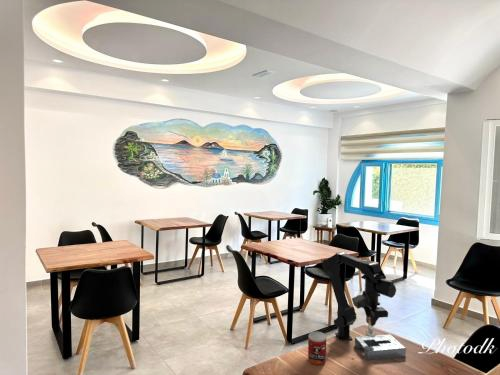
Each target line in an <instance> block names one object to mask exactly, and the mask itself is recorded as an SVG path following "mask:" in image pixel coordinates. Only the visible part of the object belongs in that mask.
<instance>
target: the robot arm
mask: <svg viewBox="0 0 500 375" xmlns="http://www.w3.org/2000/svg"><path fill="white" fill-rule="evenodd" d="M342 263H343V264H346V265H348V266H351V267H353V268H354V269H355V268H356V269H357V270H359V271H360V273H362V274H363V275H361V276H360V278H361V279H363V280H364V290H362V292H361V293H362V294H357V295H356V296H354V297H352V298H351V301H352V304H353V306H351V305H350V304H349V302H348V299H347V295H346V293H345V289H344V286H343V283H342V280H341V276H340V270H341V267H340V265H341V264H342ZM321 266H322V269H323V271H324V273H325V275H327V276H328V277H329V281H330V284H331V286H332V290H333V294H334V297H335V300H336V303H337V312H336V313H337V314H336V315H337V318H335V319H333V325H334V326H336V327H337V332H335V333H334V335H335V337H336V338H337V339H338V340H339V341H349V340H352V341H353V337H352V336H351V335H350V332H351V331H350V330H351V329H350V328H351V326H352V325H354V324H355V322H356V320H357V313H356V310H355V308H356V309H361V308H362V309H363V310H364V313H365V316H366V315H370V318H371V325H372V326H373V327H374V326H376V324H377V321H378V320H379V318H380V319H381V318H388V317H389V311H387V310H386V309H385V308H384V307H382V306H380V305H381V302H379V297H381V295H382V296H385V297H388V298H394V297H395V295H396V294H397V287H396V285H395V284H394V281H393V280H389V279H388V280H387V276H386V274H385V273H384V271H383V269H382V267H381V264H380V263H379V262H378V261H375V260H374V261H372V260H364V259H361V258H358V257H356V256H353V255H351V254H348V253H346V252H344V251H340V252H336V253H334V255H332V256H330V257H328V258H325V259H324V260H323V261H322V263H321ZM375 323H376V324H375Z"/></svg>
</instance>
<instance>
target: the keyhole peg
mask: <svg viewBox="0 0 500 375" xmlns="http://www.w3.org/2000/svg"><path fill="white" fill-rule="evenodd" d="M365 316H366V317H365V322H366V323H367V325H368V329H367V330H366V331H365V336H369V337H375V336H376V332H375V331H374V326H372V325H371V318H370V315H366V314H365ZM376 324H377V322H376V323H375V325H376Z"/></svg>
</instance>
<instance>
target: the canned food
mask: <svg viewBox="0 0 500 375" xmlns="http://www.w3.org/2000/svg"><path fill="white" fill-rule="evenodd" d="M307 340H308V341H307V360H308V362H309V363H310V364H312V365H315V366H322V365H324V364H325V363H326V362H327V361H326V360H327V335H326V334H325V333H323V332H321V331H311V332H309V333H308V339H307Z"/></svg>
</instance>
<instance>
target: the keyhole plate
mask: <svg viewBox="0 0 500 375" xmlns="http://www.w3.org/2000/svg"><path fill="white" fill-rule="evenodd" d="M354 347H356V349H357V350H358V349H363V350H364V352H363V354H364V355H363V357H365V359H366V360H367V361H373V360H382V359H383V360H385V359H386V360H387V359H394V358H395V359H396V358H405V357H406V353H407V352H406V350H407V347H405V346H404V344H402V343H401V342H400V341H398V340H397V339H396V338H395V337H394V336H393V335H392V334H375V337H369V336H367V335H365V336H355V337H354Z"/></svg>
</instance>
